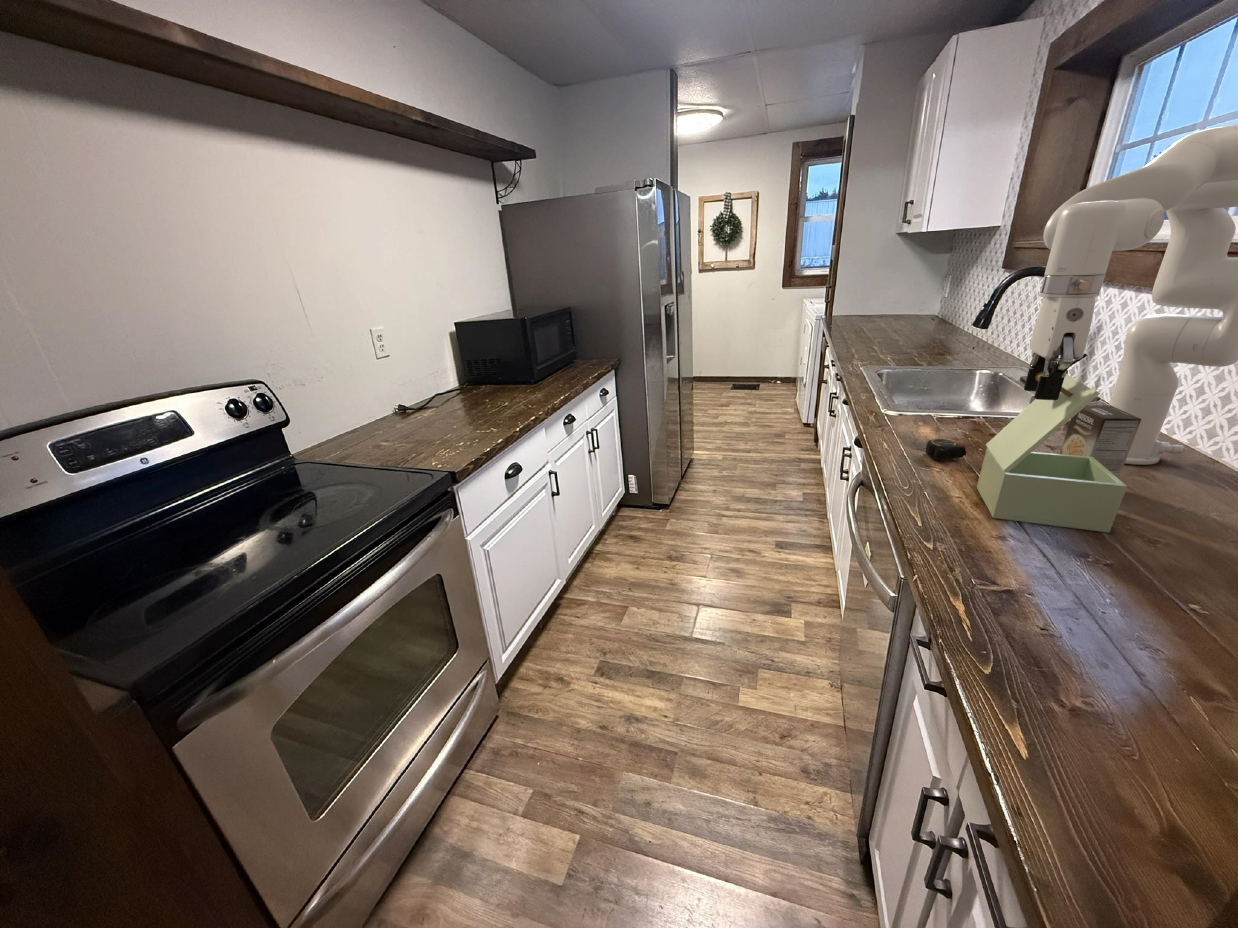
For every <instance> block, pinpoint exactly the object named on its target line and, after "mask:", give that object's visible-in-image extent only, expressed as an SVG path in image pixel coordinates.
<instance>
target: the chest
mask: <svg viewBox="0 0 1238 928" xmlns="http://www.w3.org/2000/svg"><path fill="white" fill-rule="evenodd" d="M976 489H977V491H978V493H979V495H980V497H981V498H982V500H983V502H984V504H985V506H986V508H987V510H988V512H989V513H990V515H991V517H992V518H993V519H998V520H1008V521H1016V522H1022V523H1030V524H1038V525H1044V526H1045V525H1046V526H1047V525H1048V526H1053V527H1054V526H1055V527H1060V528H1061V527H1062V528H1070V529H1077V530H1085V531H1094V532H1101V533H1107V534H1108V533H1111V530H1112V527H1113V525H1114V523H1115V520H1116V517H1117V514H1118V511H1119V509H1120V507H1121V504H1122V501H1123V499H1124V497H1125V493H1126V491H1127V489H1128V485H1126V484H1125V483H1124V482H1123V481H1122V480H1120V478H1119V479H1118V478H1117V477H1116V476H1115V475H1113V474H1112V473H1111V472H1110V471H1109V470H1108V469H1106V468H1105V467H1104V466H1103V465H1102V464H1101V463H1099V462H1098V461H1097V460H1096V459H1095V458H1094V457H1088V456H1076V455H1064V454H1060V453H1050V452H1039V451H1033V452H1031V453H1030V454H1029V455H1028V456H1027V457H1026V458H1024V459H1023V460H1022V461H1021V462H1020V463H1019V464H1017V465H1016V466H1015V467H1014V468H1013V469H1012V470H1010V471H1009V472H1008V473H1007V472H1005V471H1004V470H1003V469H1002V467H1001V466H1000V465H999V463H998V462H997V460H996V459H995V457H994V456H993V455H992V453H991V452H990V450H989V449H988V447H986V450H985V453H984V457H983V461H982V465H981V469H980V473H979V477H978V481H977V484H976Z"/></svg>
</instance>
